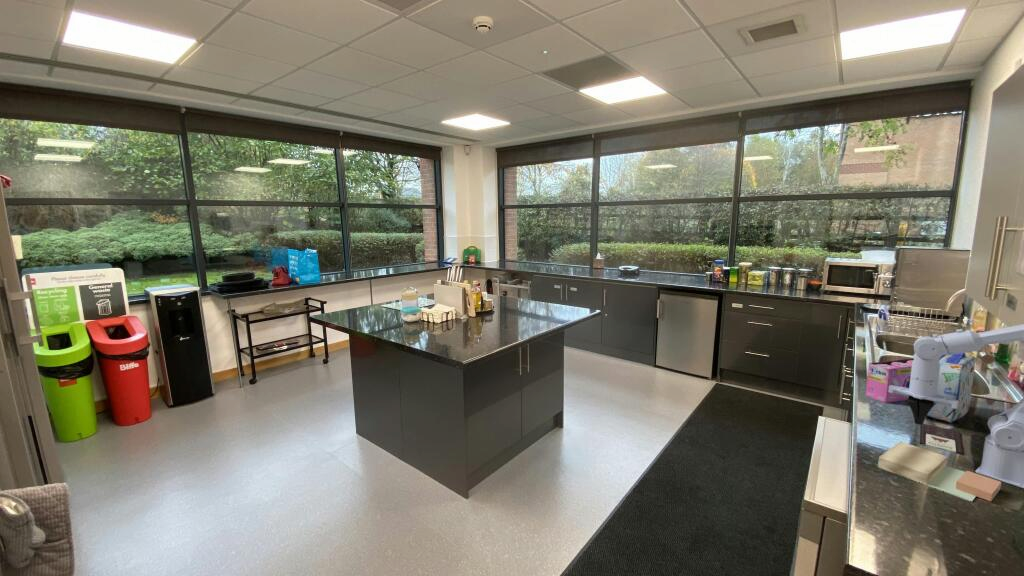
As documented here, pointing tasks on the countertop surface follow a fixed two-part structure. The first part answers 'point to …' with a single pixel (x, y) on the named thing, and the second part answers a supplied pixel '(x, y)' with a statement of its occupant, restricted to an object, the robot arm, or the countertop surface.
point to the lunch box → (954, 386)
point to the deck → (912, 462)
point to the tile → (978, 485)
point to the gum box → (888, 379)
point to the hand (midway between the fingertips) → (918, 423)
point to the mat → (950, 483)
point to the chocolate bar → (941, 438)
